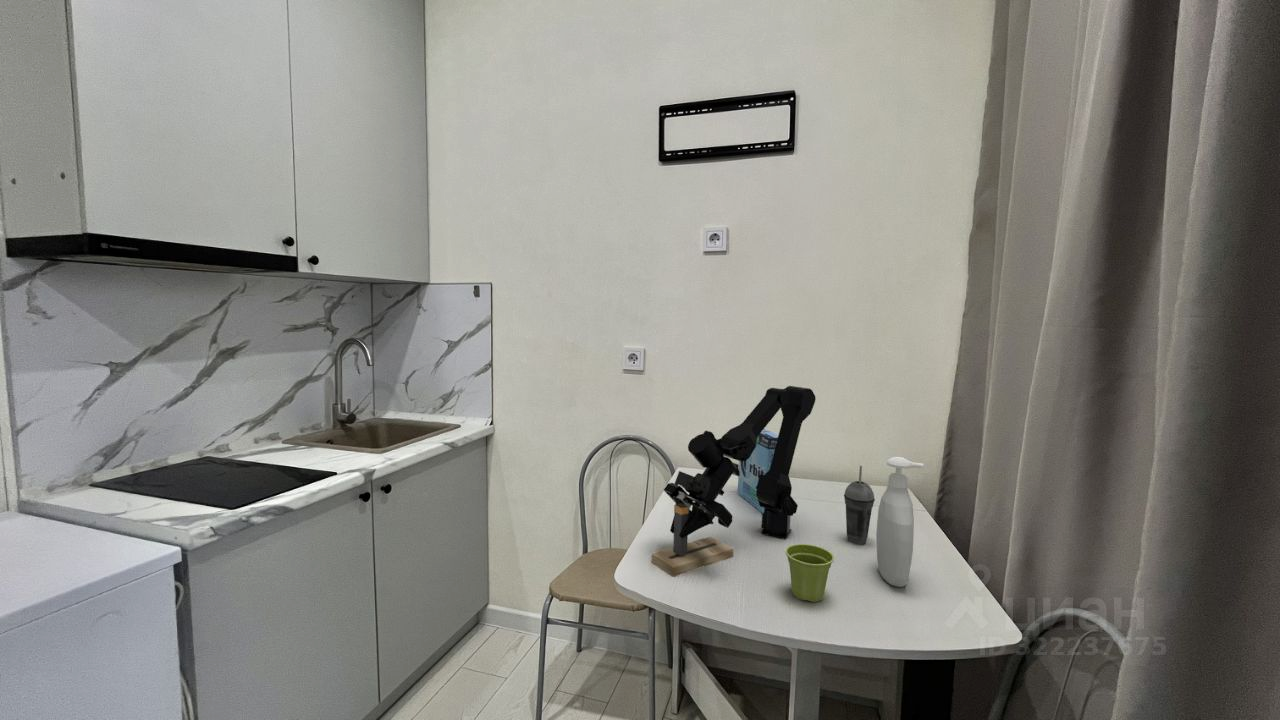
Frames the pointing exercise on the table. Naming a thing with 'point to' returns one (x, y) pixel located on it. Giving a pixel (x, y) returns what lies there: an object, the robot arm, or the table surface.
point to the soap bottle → (896, 526)
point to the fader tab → (680, 528)
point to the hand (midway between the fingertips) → (675, 534)
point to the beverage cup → (858, 510)
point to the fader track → (692, 556)
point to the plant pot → (809, 570)
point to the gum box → (756, 467)
